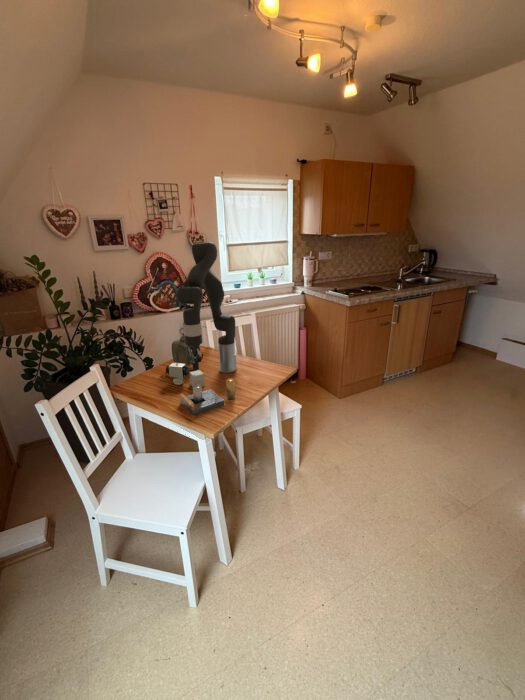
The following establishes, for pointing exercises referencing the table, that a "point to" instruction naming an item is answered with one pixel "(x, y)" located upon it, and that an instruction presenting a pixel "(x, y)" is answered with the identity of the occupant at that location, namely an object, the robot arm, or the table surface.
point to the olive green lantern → (181, 351)
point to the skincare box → (197, 378)
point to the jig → (209, 402)
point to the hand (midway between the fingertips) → (196, 369)
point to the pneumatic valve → (177, 372)
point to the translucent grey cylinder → (197, 394)
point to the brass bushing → (230, 389)
